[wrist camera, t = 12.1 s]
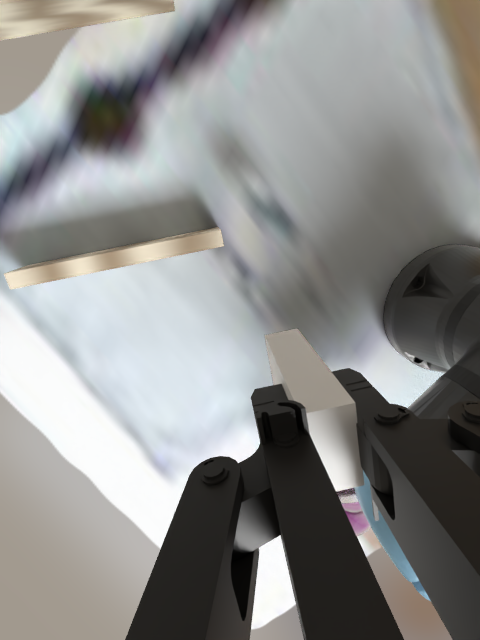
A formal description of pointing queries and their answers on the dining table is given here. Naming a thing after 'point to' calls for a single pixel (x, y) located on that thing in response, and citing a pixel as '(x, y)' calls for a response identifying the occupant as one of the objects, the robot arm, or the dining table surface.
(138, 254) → the wooden bars
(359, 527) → the lily
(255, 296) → the dining table surface
